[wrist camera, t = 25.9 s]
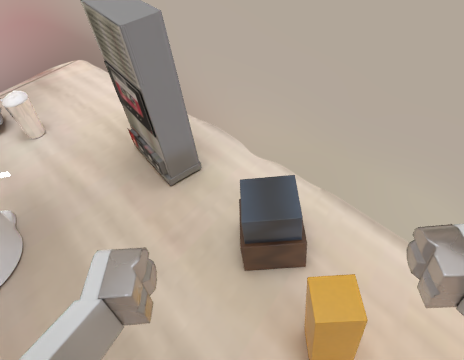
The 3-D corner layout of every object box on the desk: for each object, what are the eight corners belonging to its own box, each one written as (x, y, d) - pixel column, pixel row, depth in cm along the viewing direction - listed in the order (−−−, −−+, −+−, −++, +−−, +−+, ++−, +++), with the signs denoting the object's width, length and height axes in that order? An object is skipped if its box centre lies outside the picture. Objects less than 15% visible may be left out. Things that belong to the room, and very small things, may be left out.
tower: (244, 270, 44) (236, 226, 38) (243, 222, 49) (235, 177, 43) (305, 266, 43) (308, 221, 37) (297, 218, 49) (298, 171, 42)
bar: (310, 368, 36) (315, 323, 28) (304, 328, 38) (307, 277, 31) (351, 367, 35) (367, 320, 27) (342, 326, 38) (354, 274, 30)
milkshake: (25, 129, 73) (-4, 86, 66) (51, 125, 73) (25, 81, 66) (18, 143, 70) (-13, 99, 62) (45, 139, 69) (17, 94, 62)
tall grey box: (133, 146, 64) (73, 1, 47) (163, 131, 67) (116, -13, 49) (169, 187, 56) (113, 28, 38) (202, 169, 58) (162, 10, 40)
